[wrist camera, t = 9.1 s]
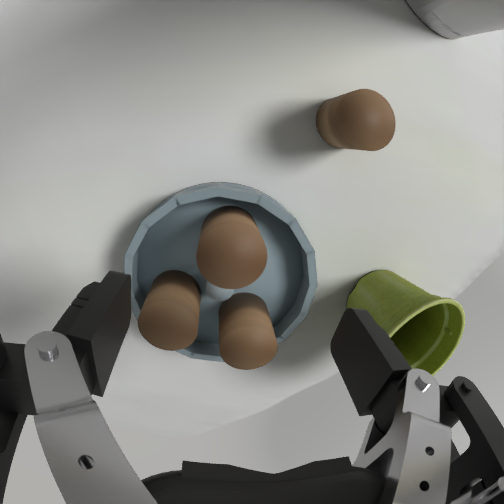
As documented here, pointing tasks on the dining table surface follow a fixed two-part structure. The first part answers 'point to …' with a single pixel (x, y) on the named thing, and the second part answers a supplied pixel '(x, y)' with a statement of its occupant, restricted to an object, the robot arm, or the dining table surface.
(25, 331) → the dining table surface
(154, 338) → the seated bead
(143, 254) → the grey-blue shallow round dish
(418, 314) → the plant pot
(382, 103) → the pile bead
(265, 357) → the seated bead
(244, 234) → the brown rounded dome
